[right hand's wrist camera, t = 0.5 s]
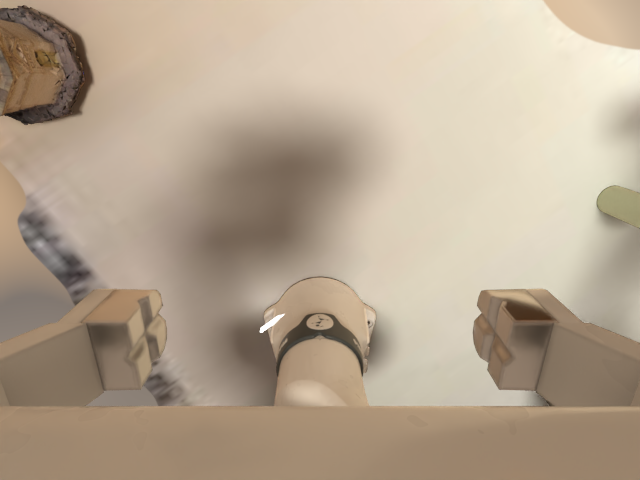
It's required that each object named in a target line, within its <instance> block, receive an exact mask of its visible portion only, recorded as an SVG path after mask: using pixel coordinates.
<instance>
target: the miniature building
mask: <svg viewBox="0 0 640 480" xmlns="http://www.w3.org/2000/svg"><path fill="white" fill-rule="evenodd" d="M39 18H40V19H39ZM43 29H44V30H45V31H44V30H43ZM47 29H48V30H47ZM46 30H47V31H46ZM39 33H40V34H41V35H40V34H39ZM33 34H34V35H33ZM37 34H38V35H37ZM36 36H37V37H36ZM60 38H62V39H60ZM42 39H43V40H42ZM44 42H46V43H44ZM67 45H68V46H67ZM70 46H71V47H70ZM62 47H63V48H64V49H63V48H62ZM68 47H69V48H70V50H71V52H70V51H69V49H68ZM73 49H74V50H73ZM63 50H64V51H63ZM43 52H45V53H46V54H47V56H44V55H46V54H45V53H43ZM48 55H49V56H48ZM47 57H48V58H47ZM79 58H80V57H78V56H77V54H76V45H75V42H74V40H73V37H72V35H71V33H70V32H69V31H68V30H67V29H66V28H64V27H61V26H60V25H58V24H56V23H55V21H53V20H52V19H50V18H48V17H47V16H44V15H43V14H41V13H40V12H39V11H37V10H35V9H33V8H31V7H30V8H28V7H27V6H25V5H23V6H18V8H13V9H8V8H0V116H2V115H5V116H9V117H12V118H14V119H16V120H18V121H21V122H22V123H23V124H24V125H28V123H29V124H34V123H43V121H49V120H52V119H55V118H58V117H64V116H68V115H72V114H73V112H72V111H71V106H72V105H73V104H74V103H75V101H76V100H77V97H78V94H79V92H80V89H81V87H82V86H83V84H84V82H85V77H84V75H83V67H82V64H81V62H80V60H79ZM49 59H50V61H48V60H49ZM52 61H53V62H54V63H55V64H54V63H53V62H52ZM64 62H65V63H64ZM50 63H51V64H50ZM56 63H59V64H56ZM52 67H53V68H52ZM60 70H61V71H60ZM64 70H65V72H64ZM73 71H74V72H73ZM72 72H73V73H72ZM77 72H78V73H77ZM65 73H66V76H65ZM68 75H70V76H69V77H68V79H66V77H67V76H68ZM59 76H60V77H59ZM80 76H81V77H80ZM79 77H80V78H79ZM59 80H60V81H59ZM61 80H64V81H61ZM58 81H59V82H58ZM57 82H58V83H57ZM60 82H61V83H60ZM56 83H57V84H56ZM81 83H82V84H81ZM55 84H56V85H55ZM62 84H63V85H62ZM61 85H62V86H63V87H62V86H61ZM64 87H66V89H65V88H64ZM75 87H76V88H75ZM73 88H74V89H73ZM65 90H66V92H64V91H65ZM61 91H62V93H63V95H62V94H61ZM54 93H55V94H54ZM67 94H68V95H69V96H68V95H67ZM62 96H63V99H61V97H62ZM52 99H54V100H55V101H54V100H52ZM66 101H68V102H66ZM59 102H60V103H59ZM47 104H49V105H50V106H48V105H47Z"/></svg>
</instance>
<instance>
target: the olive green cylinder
mask: <svg viewBox="0 0 640 480" xmlns="http://www.w3.org/2000/svg"><path fill="white" fill-rule="evenodd" d="M597 206H598V208H599V209H600V210H601V211H602V212H604V213H606V214H609V215H611V216H613V217H615V218H617V219H620V220H622V221H624V222H626V223H628V224H631V225H633V226H635V227H637V228H640V193H638V192H635V191H632V190H629V189H626V188H623V187H620V186H611V187H608V188H606V189H605V190H603V191H602V192H601V194H600V195H599V197H598V200H597Z"/></svg>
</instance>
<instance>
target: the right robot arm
mask: <svg viewBox="0 0 640 480" xmlns="http://www.w3.org/2000/svg"><path fill="white" fill-rule="evenodd" d="M162 306H163V303H162V298H161V294H160V293H159V292H158V291H157V290H138V289H96V290H93V291H92V292H91V293H90V294H88V295H87V296H86V297H85V298H84V299H83V300H82V301H81V302H79V303H78V304H77V305H76V306H75V307H74V308H73V309H72V310H70V311H69V312H68V313H67V314H66V315H65V316H64V317H63V318H62V319H60V320H59V321H58V322H57V323H49V324H46V325H44V326H41V327H39V328H36V329H34V330H31V331H29V332H26V333H24V334H21V335H19V336H16V337H14V338H11V339H9V340H6V341H4V342H1V343H0V480H640V343H639V342H636V341H634V340H631V339H629V338H626V337H624V336H621V335H619V334H616V333H614V332H611V331H609V330H606V329H604V328H601V327H599V326H596V325H594V324H591V323H583V322H582V321H581V320H580V319H579V318H577V317H576V316H575V315H574V314H573V313H572V312H571V311H570V310H568V309H567V308H566V307H565V306H564V305H563V304H562V303H561V302H560V301H558V300H557V299H556V298H555V297H554V296H553V295H552V294H551V293H550V292H548V291H547V290H545V289H506V290H483V291H481V293H480V295H479V298H478V303H477V306H478V308H479V309H480V311H481V314H480V315H479V316H478V318H477V319H476V320H475V321H474V327H473V339H474V345H475V348H476V351H477V353H478V355H479V356H480V358H482V359H483V360H485V361H487V362H488V363H489V364H488V369H487V370H488V372H489V373H490V375H491V377H492V378H493V380H494V382H495V383H496V385H497V387H498V388H499V390H533V391H536V393H538V394H539V395H541V396H542V397H543V398H545V399H546V400H547V401H549V402H550V403H551V404H553V405H554V406H369V404H368V401H367V397H366V394H365V390H364V385H363V380H362V376H363V373H366V372H367V367H368V361H367V359H365V355H369V347H368V345H369V341H370V338H371V335H372V331H373V328H374V324H375V321H376V312H375V311H374V310H373V309H372V308H371V307H369V306H367V305H366V304H364V303H363V302H362V301H361V300H360V299H359V298H358V296H357V295H356V293H355V292H354V291H353V290H352V289H351V288H350V287H348V286H347V285H345V284H344V283H342V282H340V281H337V280H334V279H330V278H323V277H317V278H310V279H306V280H303V281H300V282H298V283H296V284H295V285H293V286H292V287H290V288H289V289H288V290H287V291H286V292H285V293H284V295H283V296H282V298H281V299H280V300H279V301H278V302H277V303H276V304H274V305H273V306H271V307H269V308H268V309H267V310H266V311H265V312H264V321H265V324H266V325H264V326H263V327H261V329H260V332H261V333H262V332H263V331H265V330H266V329H267V331H268V334H269V338H270V341H271V345H272V348H273V351H274V355H275V358H276V364H277V376H278V382H277V389H276V396H275V403H274V406H86V405H87V404H89V403H90V402H91V401H93V400H94V399H96V398H97V397H98V396H100V395H101V394H102V393H104V391H106V390H141V389H142V387H143V385H144V384H145V382H146V380H147V378H148V377H149V375H150V373H151V372H152V370H153V369H152V364H151V363H152V362H153V361H155V360H157V359H158V358H160V356H161V355H162V353H163V351H164V348H165V344H166V340H167V326H166V321H165V320H164V319H163V318H162V316H161V315H160V314H159V311H160V309H161V308H162ZM367 321H369V322H368V323H367Z"/></svg>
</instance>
